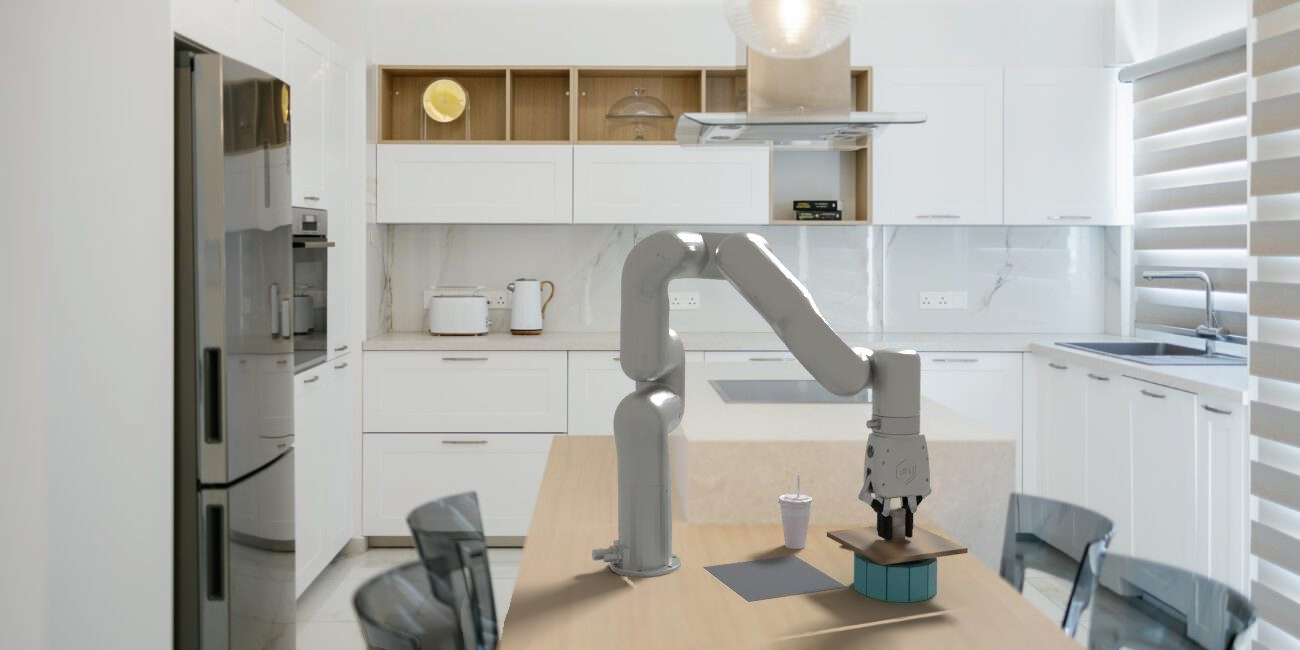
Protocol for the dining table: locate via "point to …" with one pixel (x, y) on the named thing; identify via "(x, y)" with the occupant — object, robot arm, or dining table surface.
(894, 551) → the cover
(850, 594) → the dining table surface
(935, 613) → the dining table surface
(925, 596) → the bowl
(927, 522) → the dining table surface
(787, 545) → the smoothie
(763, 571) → the mat
